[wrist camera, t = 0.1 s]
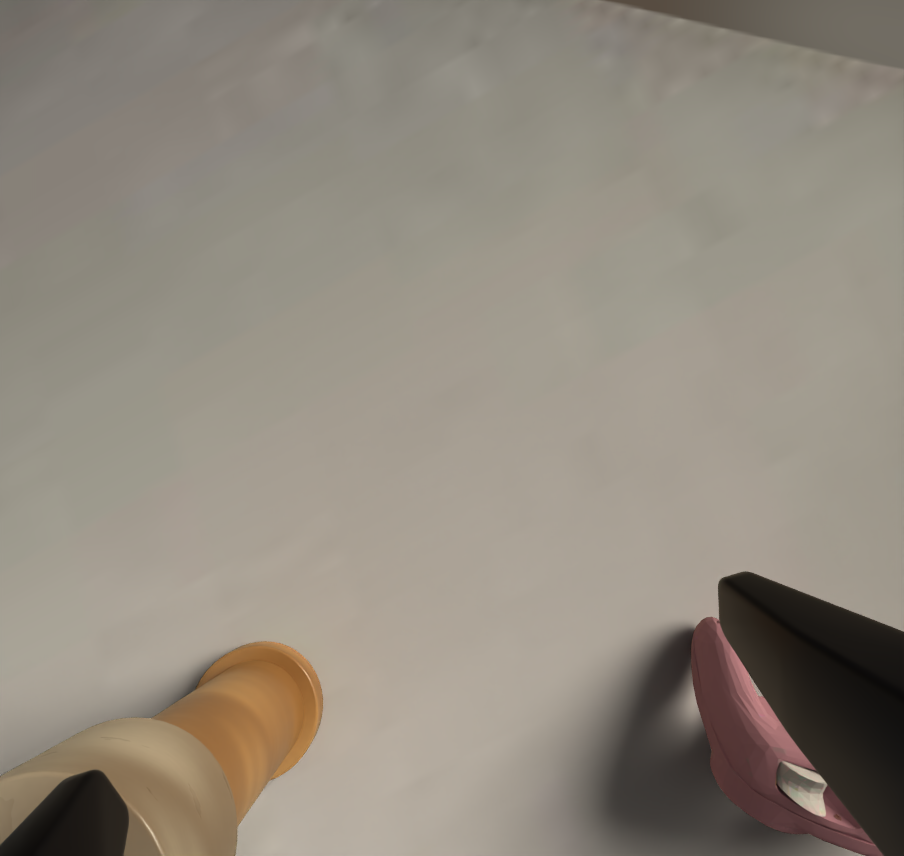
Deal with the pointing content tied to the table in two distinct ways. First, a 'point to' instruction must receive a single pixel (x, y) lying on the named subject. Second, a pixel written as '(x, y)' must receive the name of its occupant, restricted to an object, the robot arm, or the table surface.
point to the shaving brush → (189, 754)
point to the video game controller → (762, 751)
